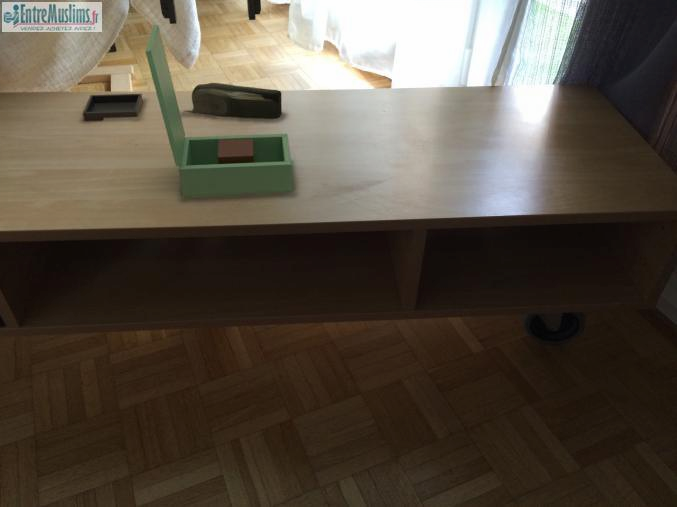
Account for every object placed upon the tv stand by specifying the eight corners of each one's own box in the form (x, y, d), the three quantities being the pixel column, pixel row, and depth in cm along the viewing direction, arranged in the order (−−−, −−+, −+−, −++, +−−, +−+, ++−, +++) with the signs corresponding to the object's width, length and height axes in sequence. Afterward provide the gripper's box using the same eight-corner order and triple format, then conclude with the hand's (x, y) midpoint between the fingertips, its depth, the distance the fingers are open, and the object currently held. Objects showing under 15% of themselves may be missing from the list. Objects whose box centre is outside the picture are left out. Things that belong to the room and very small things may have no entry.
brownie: (220, 187, 78) (217, 156, 75) (221, 169, 81) (218, 139, 79) (255, 185, 79) (253, 155, 76) (254, 167, 82) (252, 138, 79)
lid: (158, 24, 71) (153, 25, 71) (150, 50, 64) (145, 51, 64) (185, 134, 80) (180, 134, 80) (181, 166, 73) (175, 166, 73)
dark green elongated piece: (282, 86, 93) (184, 79, 93) (279, 94, 91) (179, 87, 91) (282, 116, 96) (187, 109, 96) (279, 125, 94) (182, 117, 94)
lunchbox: (288, 164, 84) (287, 133, 81) (292, 196, 78) (291, 164, 75) (188, 168, 83) (183, 137, 80) (184, 202, 77) (178, 168, 74)
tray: (85, 123, 92) (82, 113, 91) (92, 104, 97) (90, 95, 96) (138, 121, 93) (136, 111, 92) (143, 102, 98) (141, 93, 97)
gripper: (266, -161, 61) (273, 6, 71) (118, -161, 59) (148, 11, 69) (273, -152, 55) (281, 28, 66) (110, -152, 53) (144, 35, 63)
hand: (212, 19), depth 67 cm, fingers open, 8 cm apart
